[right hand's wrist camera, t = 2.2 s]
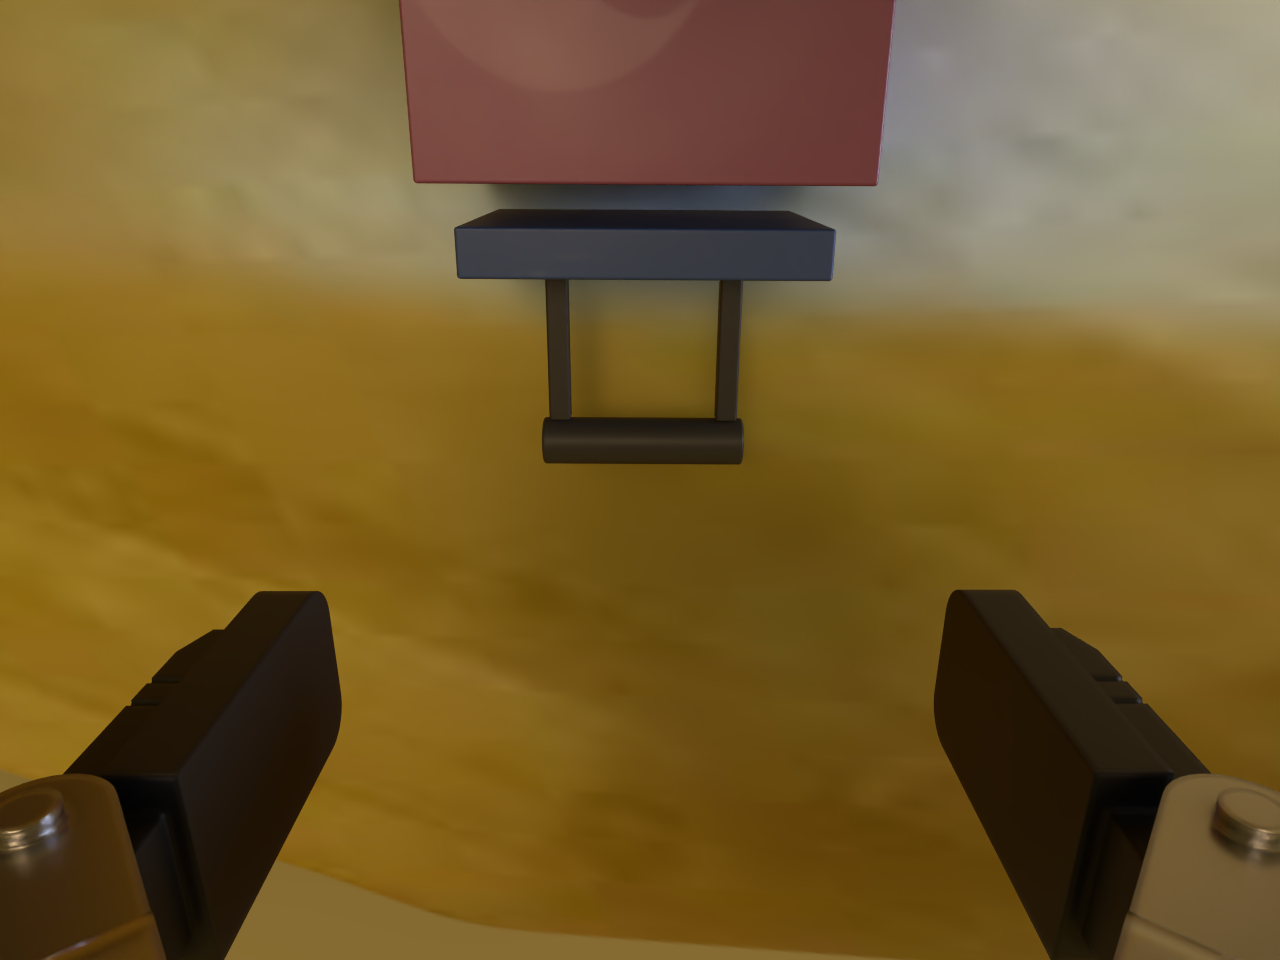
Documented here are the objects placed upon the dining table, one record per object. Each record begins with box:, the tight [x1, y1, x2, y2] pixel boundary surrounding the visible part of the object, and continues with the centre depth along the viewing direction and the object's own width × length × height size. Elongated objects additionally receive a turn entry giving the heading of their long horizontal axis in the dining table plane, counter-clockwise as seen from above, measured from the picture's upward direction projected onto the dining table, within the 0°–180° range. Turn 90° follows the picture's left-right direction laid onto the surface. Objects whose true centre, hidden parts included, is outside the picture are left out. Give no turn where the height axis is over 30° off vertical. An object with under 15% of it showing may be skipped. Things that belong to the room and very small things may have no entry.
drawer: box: [454, 209, 836, 464], centre depth 22 cm, size 20×9×7 cm, turn 0°
